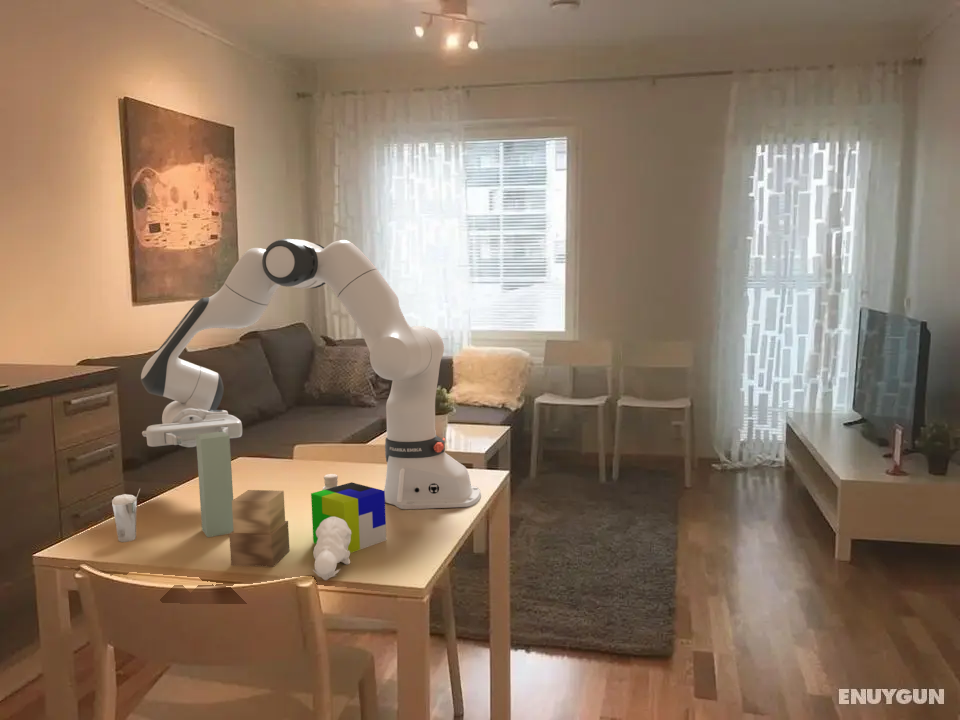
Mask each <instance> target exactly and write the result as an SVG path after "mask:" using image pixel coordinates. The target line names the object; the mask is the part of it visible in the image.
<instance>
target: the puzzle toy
mask: <svg viewBox="0 0 960 720" xmlns="http://www.w3.org/2000/svg"><path fill="white" fill-rule="evenodd" d="M310 497H311V498H310V501H311V521H312V539H313V541H312V543H313V544H315V545H316V544H317V540H318V538H317V536H316V530H317V528H318V527H319V525H320V523H321V522H322V521H323V520H325V519H327V518H329V517H338V518H340V519H343V520H344V521H346V523H347V525H348V527H349V529H350V530H351V541H350V544H349V545H348V550H349V551H350V554H351V553H355V552H356V551H360V550H364V549H367V548H368V547H372V546H373V545H377V544H380V543H383V542H386V541H387V523H386V522H387V520H386V502H385V491H384V489H380V488H375V487H371V486H368V485H362V484H360V483H355V482H353V481H352V482H351V481H350V482H348V483H345V484H341V485H337V486H336V487H333V488H329V489H325V490H319V491H315V492H312V493H310ZM348 550H347V551H348Z"/></svg>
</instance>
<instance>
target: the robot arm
mask: <svg viewBox="0 0 960 720" xmlns="http://www.w3.org/2000/svg"><path fill="white" fill-rule="evenodd" d="M324 285H327V286H328V287H329V288H330V290H332V292H333V293H334V295H335V296H336V298H337V299H338V300H339V302H340V303H341V304H342V306H343V308H345V310H346V311H347V313H348V314H349V316H350V317H351V318H352V319H353V321H354V322H355V323H356V325H357V327H358V329H359V331H360V333H361V334H362V337H363V339H364V342H365V344H366V346H367V349H368V351H369V362H370V366H371V368H372V370H373V371H374V373H375V374H376V375H378V377H380V378H382V379H384V380H389V381H392V382H391V388H390V392H389V396H388V398H387V400H386V404H385V411H386V412H385V413H386V414H385V415H386V437H385V438H384V439H385V443H384V451H385V453H384V456H385V460H386V475H385V484H384V489H383V491H385V503H387V504H389V505H392V506H396V507H397V508H398V509H401V510H419V509H420V510H421V509H441V508H442V509H443V508H445V509H446V508H465V507H467V508H468V507H471V506H473V505H475V504H477V503H478V501H480V498H481V496H482V495H481V490H480V488H479V487H477V486H475V485H472V483H471V477H470V474H469V472H468V471H469V470H468V469H467V467H466V466H465V465H463V464H462V463H460V462H459V461H457V460H456V459H454V458H453V457H452V456H451V455H449V454H448V453H446V452H445V451H446V438H445V437H442V438H441V437H440V436H438V435H437V433H436V432H437V431H436V396H437V388H438V382H439V376H440V375H439V373H440V365H441V362H442V361H441V360H442V357H443V355H444V351H445V346H444V345H445V344H444V341H443V339H442V337H441V335H440V334H439V333H438V332H437V331H436V330H433V329H432V328H430V327H426V326H422V325H414V326H410V325H409V323H408V322H407V320H406V318H405V316H404V314H403V311H402V309H401V307H400V304H399V297H398V295H397V294H396V293H395V291H394V290H393V289H392V287H391V286H390V284H389V283H388V282H387V281H386V279H385V278H384V276H383V275H382V273H380V271H379V270H378V268H377V267H376V266H375V265H374V264H373V262H372V261H371V260H370V259H369V258H368V257H367V255H365V253H363V251H362V250H361V249H360V248H359V247H358V246H356V245H355V243H352V242H351V241H350V240H346V239H340V240H336V241H333V242H331V243H329V244H327V245H326V247H324V246H323V245H321V244H318V243H315V242H311V241H308V240H305V239H293V238H281V239H278V240H275V241H273V242H272V243H271V244H269V245H268V246H267V247H266V248H261V247H252V248H249V249H248V250H246V251H245V252H244V253H243V255H241V257H240V258H239V259H238V261H237V262H236V264H235V265H234V266H233V268H232V269H231V271H230V272H229V275H228V276H227V278H226V279H225V281H224V283H223V285H222V286H221V287H220V289H219V290H218V291H217V292H215V293H214V294H213V295H211V296H209V297H201V298H199V300H198V301H196V302H195V303H194V304H193V305H192V307H190V309H189V310H188V311H187V313H186V314H184V316H183V317H182V319H181V320H180V321H179V322H178V324H177V325H176V327H174V329H173V331H171V333H170V334H169V335H168V336H167V338H166V339H165V341H164V342H163V343H162V344H161V346H160V347H159V348H158V349H157V350H156V351H155V352H154V354H153V355H151V356H150V358H149V359H148V360H147V361H146V362H145V365H144V366H143V367H142V369H141V374H140V382H141V384H142V386H143V387H144V390H145V391H146V392H147V393H148V394H150V395H155V396H159V397H162V398H163V397H164V398H167V399H169V400H173V401H171V402H170V403H168V404H167V405H166V406H165V407H164V409H163V411H162V417H161V421H162V423H159V424H152V425H148V426H147V427H146V429H145V430H143V431H142V432H141V434H142V436H143V437H144V438H146V443H147V444H146V445H147V446H148V447H153V448H154V447H162V446H171V445H174V446H177V445H179V446H181V447H185V448H194V447H197V445H196V435H197V434H205V433H214V432H222V431H224V432H225V433H226V434H227V435H229V437H230V439H237V438H242V436H243V424H242V421H241V419H239V418H238V417H237V416H235V415H232V414H229V412H228V410H224V409H218V408H219V406H220V404H221V401H222V399H223V396H224V389H225V388H224V383H223V380H222V377H221V375H220V373H219V372H216V371H214V370H211V369H210V368H207V367H204V366H202V365H197V364H195V363H192V362H190V361H187V360H184V359H182V358H179V356H181V354H182V353H183V351H184V349H185V348H186V347H187V346H188V345H189V343H190V342H191V341H192V340H193V338H194V337H195V336H196V335H197V334H198V333H199V332H201V331H205V330H208V329H228V330H229V329H230V330H237V329H245V328H248V327H251V326H253V325H255V324H256V323H257V322H259V321H260V319H261V318H262V317H263V315H264V314H265V312H266V310H267V309H268V306H269V305H270V303H271V300H272V299H273V296H274V295H275V293H276V291H277V290H278V289H279V288H280V287H287V288H288V287H290V288H295V289H300V290H301V289H317V288H320V287H324ZM185 350H186V349H185Z"/></svg>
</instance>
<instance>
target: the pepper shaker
mask: <svg viewBox="0 0 960 720" xmlns="http://www.w3.org/2000/svg"><path fill="white" fill-rule="evenodd" d="M338 478H339V476H338V475H337V474H336V473H328V474H327V473H326V474H325V475H324V476H323V479H324V486H323V487H322V490H325V489H329V488H333V487H336V486H339V485H338V483H339V482H338ZM322 490H321V491H322Z"/></svg>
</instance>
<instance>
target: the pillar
mask: <svg viewBox="0 0 960 720" xmlns="http://www.w3.org/2000/svg"><path fill="white" fill-rule="evenodd" d="M230 439H231V438H230V437H229V435H227V434H226V433H225V432H224V431H222V432H214V433H205V434H197V435H196V445H197V446H196V455H197V456H196V460H197V470H198V471H197V472H198V473H197V475H198V486H199V487H198V488H199V489H198V490H199V502H200V506H199V507H200V519H201V530H202V532H203V533H204V535H205V536H206V538H212V537H219V536H223V535H229V534H230V533H231V532H232V531H234V530H233V514H232V500H234V492H233V491H234V489H233V474H232V473H233V470H232V455H231V441H230Z"/></svg>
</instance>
